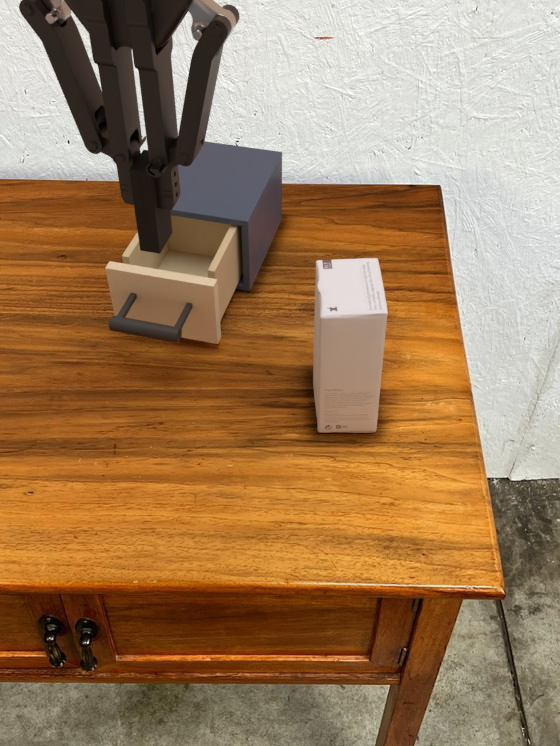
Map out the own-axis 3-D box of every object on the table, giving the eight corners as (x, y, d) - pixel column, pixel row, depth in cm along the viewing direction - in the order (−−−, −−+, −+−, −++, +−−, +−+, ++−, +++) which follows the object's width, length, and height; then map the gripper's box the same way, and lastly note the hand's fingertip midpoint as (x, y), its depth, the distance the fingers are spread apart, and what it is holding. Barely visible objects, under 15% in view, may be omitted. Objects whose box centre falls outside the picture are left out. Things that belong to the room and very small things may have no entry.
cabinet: (250, 291, 88) (248, 221, 82) (146, 274, 91) (135, 204, 84) (281, 219, 98) (282, 151, 91) (187, 205, 100) (181, 137, 94)
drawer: (202, 379, 78) (196, 321, 72) (96, 359, 79) (82, 301, 74) (253, 266, 90) (251, 209, 85) (160, 251, 92) (153, 194, 87)
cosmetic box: (376, 434, 74) (393, 317, 63) (313, 435, 74) (319, 318, 63) (368, 371, 80) (382, 254, 69) (309, 371, 80) (314, 255, 69)
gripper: (253, -148, 41) (256, 225, 58) (27, -165, 43) (93, 200, 60) (211, -111, 36) (228, 287, 53) (-44, -132, 38) (51, 257, 55)
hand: (156, 241), depth 56 cm, fingers closed
